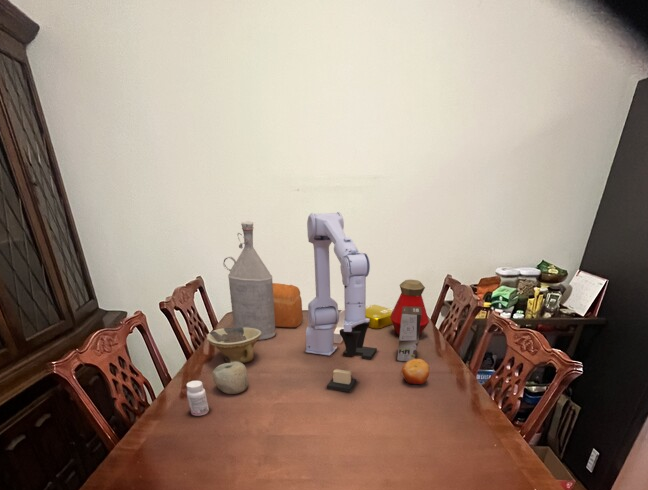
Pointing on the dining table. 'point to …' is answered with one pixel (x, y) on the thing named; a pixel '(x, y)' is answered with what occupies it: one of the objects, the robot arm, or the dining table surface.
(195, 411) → the pill bottle
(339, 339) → the white slotted holder
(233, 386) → the stone
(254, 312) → the grey jug
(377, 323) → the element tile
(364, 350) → the base pad
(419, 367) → the fruit
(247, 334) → the bowl
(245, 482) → the dining table surface
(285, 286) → the bread
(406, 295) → the bottle
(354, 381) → the loose pad
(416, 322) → the coffee box
